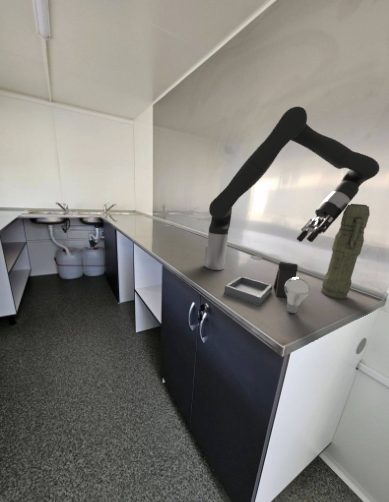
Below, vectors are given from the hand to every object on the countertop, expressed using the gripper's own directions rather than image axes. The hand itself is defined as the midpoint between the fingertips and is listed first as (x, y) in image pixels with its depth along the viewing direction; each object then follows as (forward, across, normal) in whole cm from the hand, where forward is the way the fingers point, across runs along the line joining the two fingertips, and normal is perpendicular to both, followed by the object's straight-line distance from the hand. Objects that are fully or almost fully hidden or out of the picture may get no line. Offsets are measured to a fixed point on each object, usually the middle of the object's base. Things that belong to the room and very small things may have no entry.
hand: (303, 240), depth 81 cm
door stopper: (+20, 0, +7) cm, 22 cm away
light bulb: (+24, +15, +7) cm, 29 cm away
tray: (+28, +3, -4) cm, 29 cm away
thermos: (+8, -3, +24) cm, 26 cm away
